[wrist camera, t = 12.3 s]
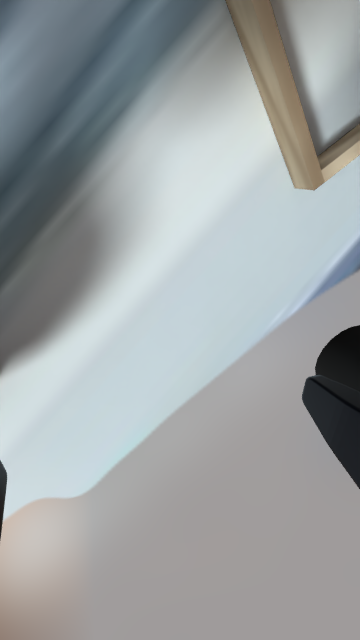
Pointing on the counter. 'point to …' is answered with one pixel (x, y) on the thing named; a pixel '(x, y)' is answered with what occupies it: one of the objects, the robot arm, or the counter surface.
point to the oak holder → (286, 98)
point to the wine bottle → (342, 359)
